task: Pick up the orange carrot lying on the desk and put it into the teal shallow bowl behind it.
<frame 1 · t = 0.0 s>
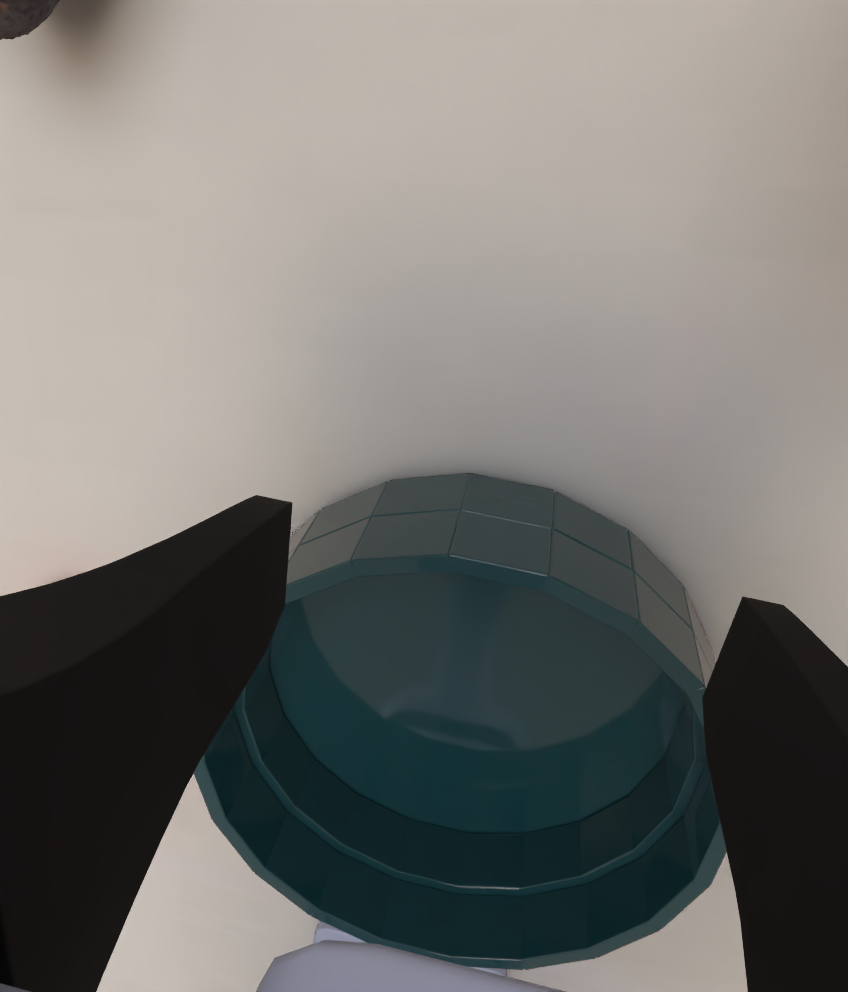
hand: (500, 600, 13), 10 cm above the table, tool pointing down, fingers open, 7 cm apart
teal shallow bowl: (470, 675, 26), on the table
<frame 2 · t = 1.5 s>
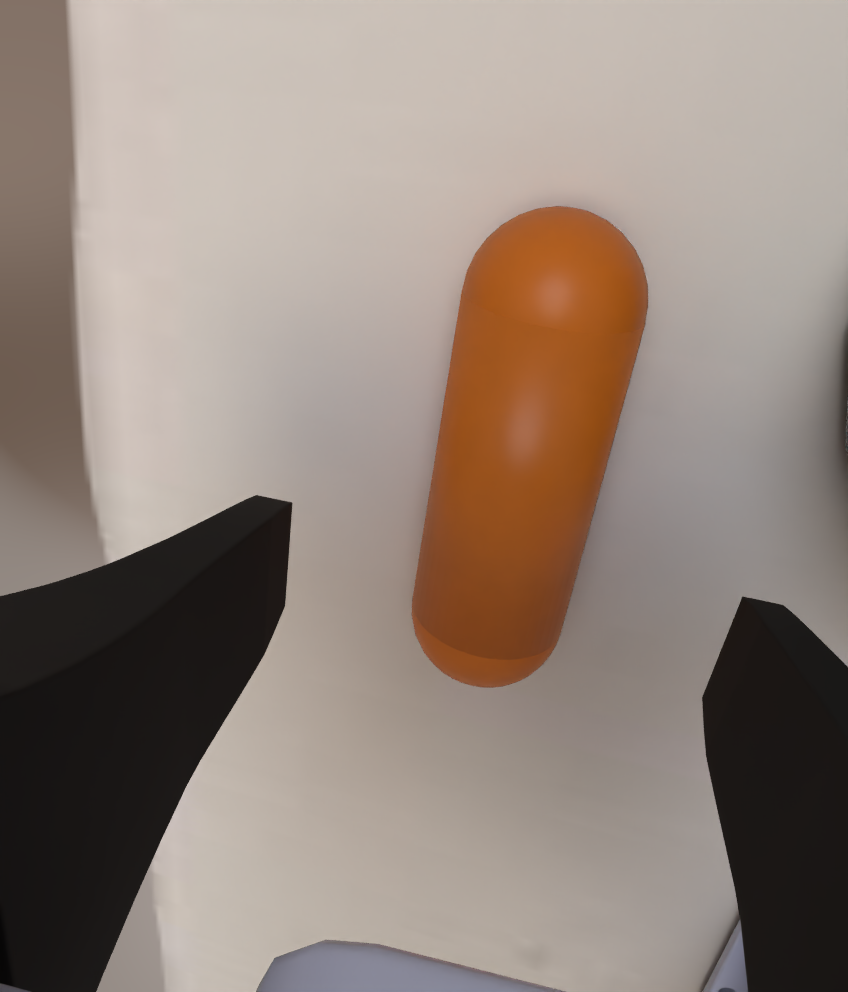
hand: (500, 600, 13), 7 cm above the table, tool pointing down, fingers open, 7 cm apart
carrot: (521, 440, 19), on the table
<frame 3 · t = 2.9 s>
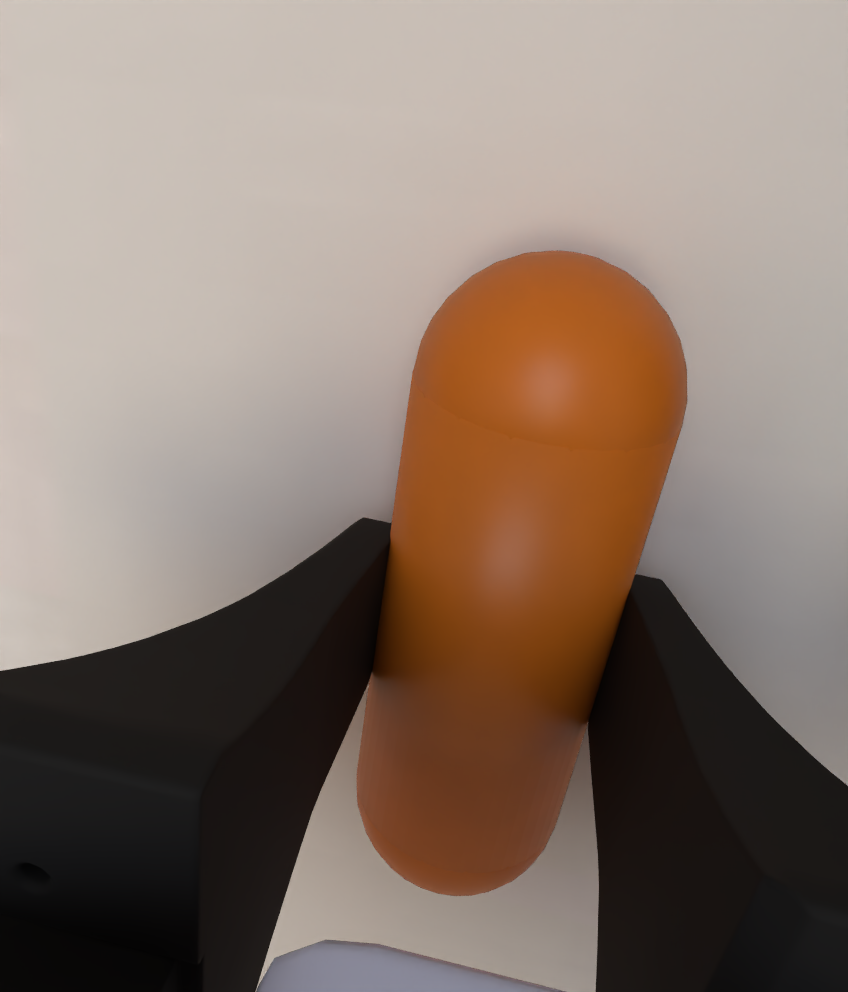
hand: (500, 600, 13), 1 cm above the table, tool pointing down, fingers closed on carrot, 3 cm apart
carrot: (505, 555, 14), on the table, touching gripper
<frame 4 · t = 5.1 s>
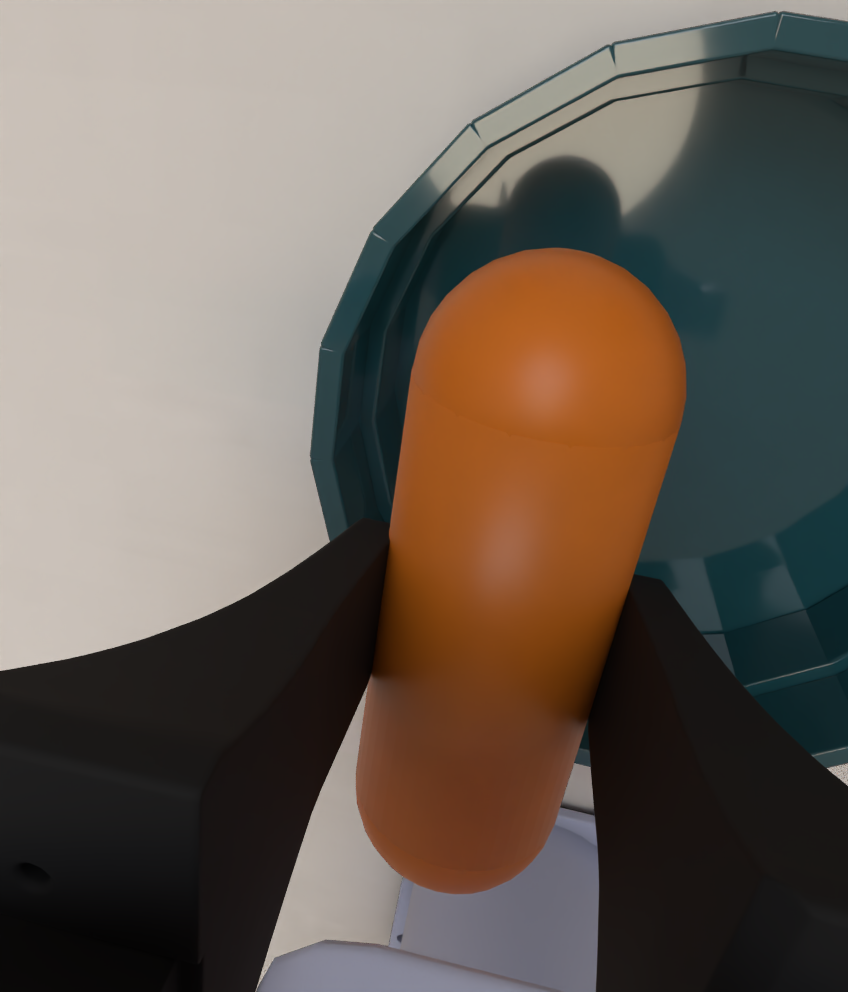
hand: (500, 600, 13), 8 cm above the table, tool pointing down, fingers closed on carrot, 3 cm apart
teal shallow bowl: (672, 395, 19), on the table
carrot: (504, 553, 14), point 7 cm above the table, touching gripper
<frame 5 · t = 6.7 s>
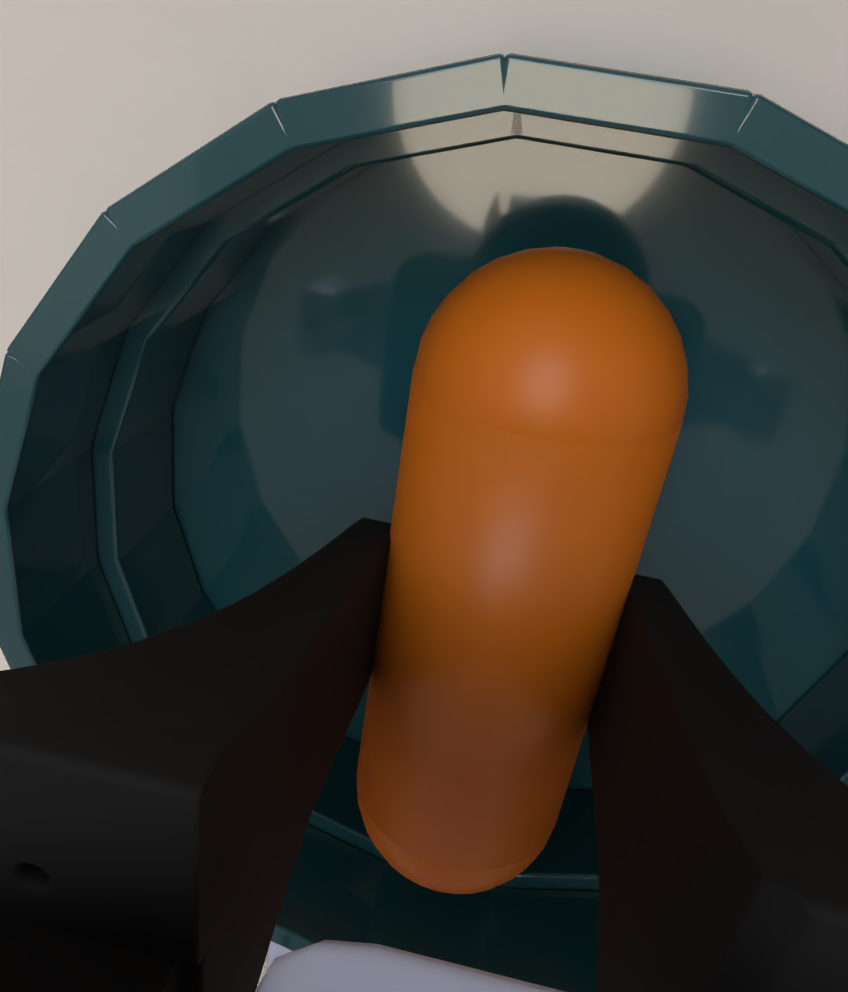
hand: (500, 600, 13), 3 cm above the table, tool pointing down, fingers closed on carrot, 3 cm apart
teal shallow bowl: (513, 513, 15), on the table
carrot: (505, 552, 14), point 2 cm above the table, touching gripper
when the fingers open (2 cm above the table, at t = 7.4 s): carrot stays where it is, resting on teal shallow bowl.
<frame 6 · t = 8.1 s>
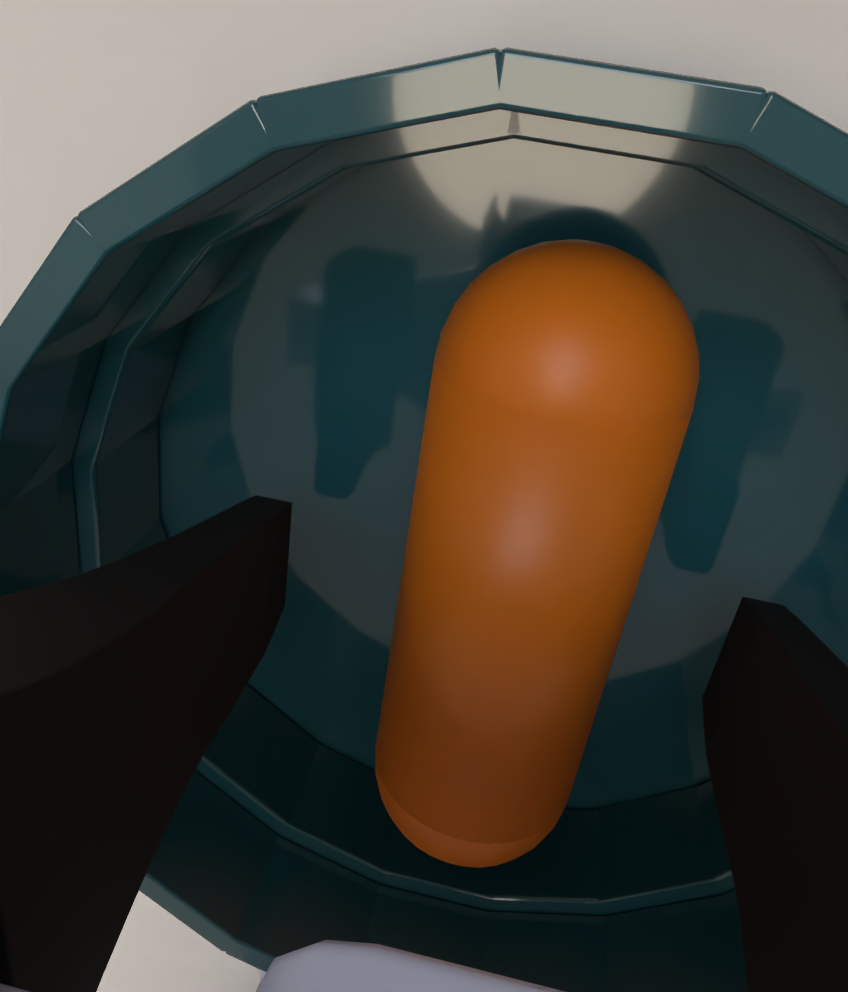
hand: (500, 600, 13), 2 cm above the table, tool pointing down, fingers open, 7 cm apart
teal shallow bowl: (511, 525, 15), on the table
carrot: (508, 535, 14), point 1 cm above the table, tilted 6°, touching teal shallow bowl
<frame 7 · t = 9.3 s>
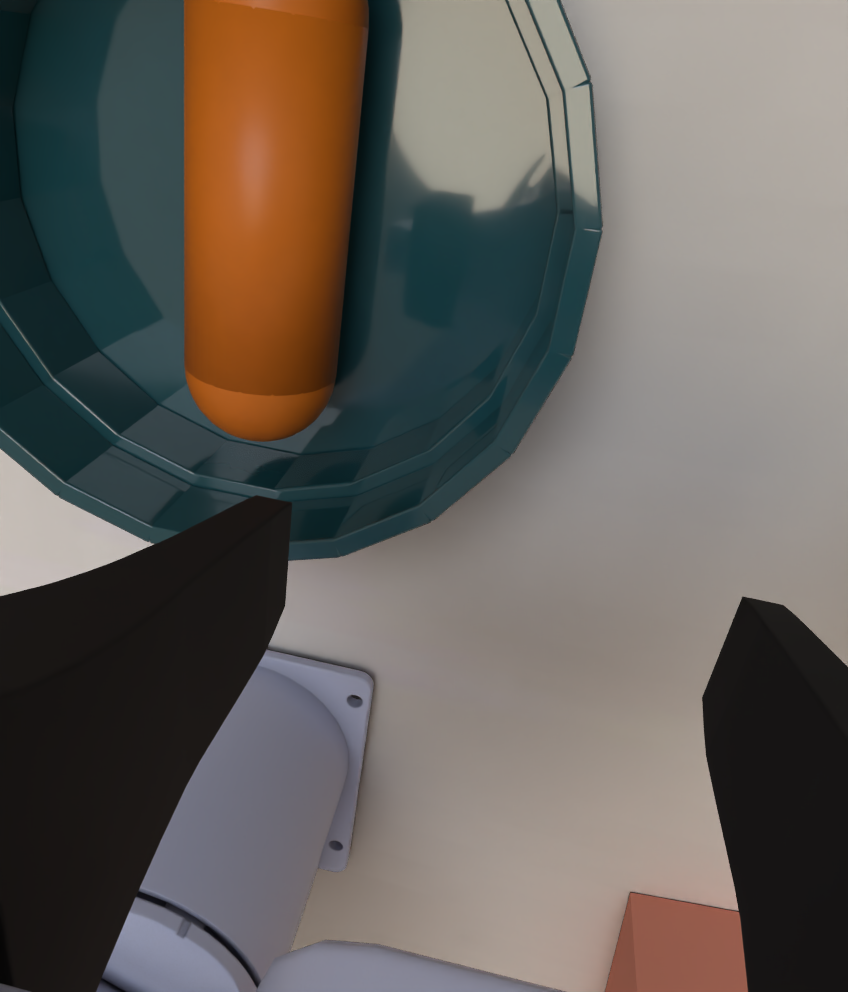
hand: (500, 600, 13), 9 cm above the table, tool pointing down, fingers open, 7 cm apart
teal shallow bowl: (282, 195, 20), on the table
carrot: (274, 195, 19), point 1 cm above the table, tilted 16°, touching teal shallow bowl
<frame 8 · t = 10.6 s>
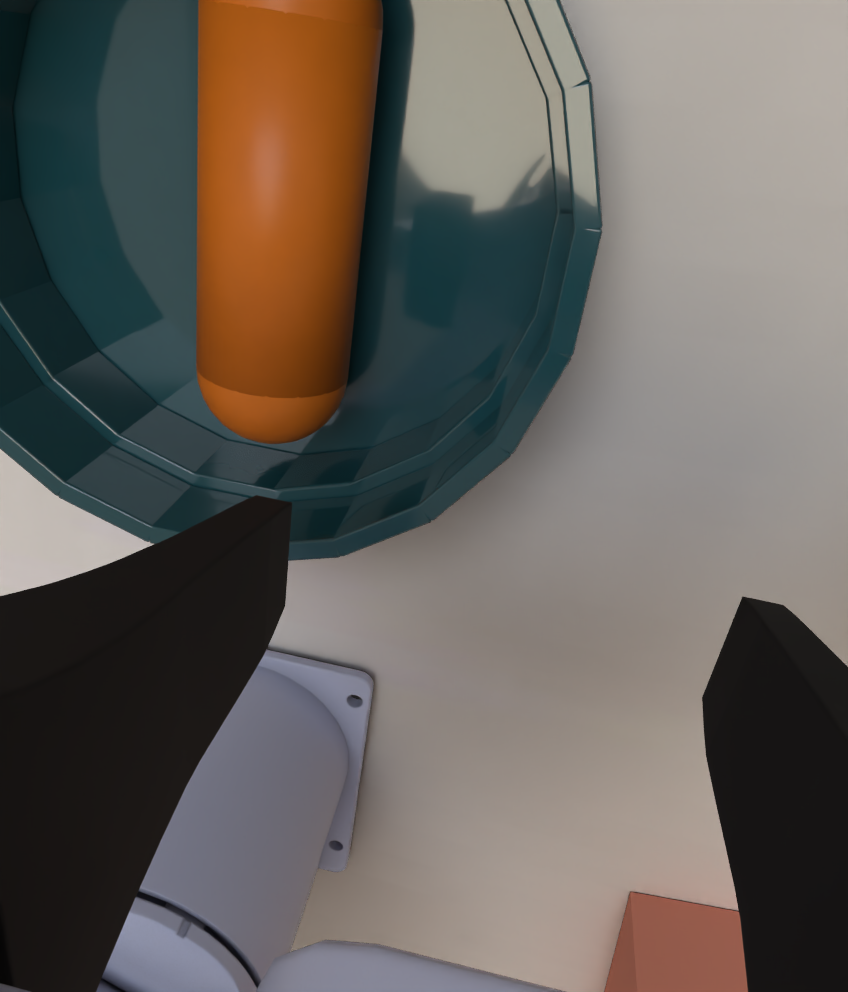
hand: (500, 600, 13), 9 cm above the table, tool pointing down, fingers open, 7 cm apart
teal shallow bowl: (282, 195, 20), on the table
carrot: (273, 195, 19), point 1 cm above the table, tilted 25°, touching teal shallow bowl
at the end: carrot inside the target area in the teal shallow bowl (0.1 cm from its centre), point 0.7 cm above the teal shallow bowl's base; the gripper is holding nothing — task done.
